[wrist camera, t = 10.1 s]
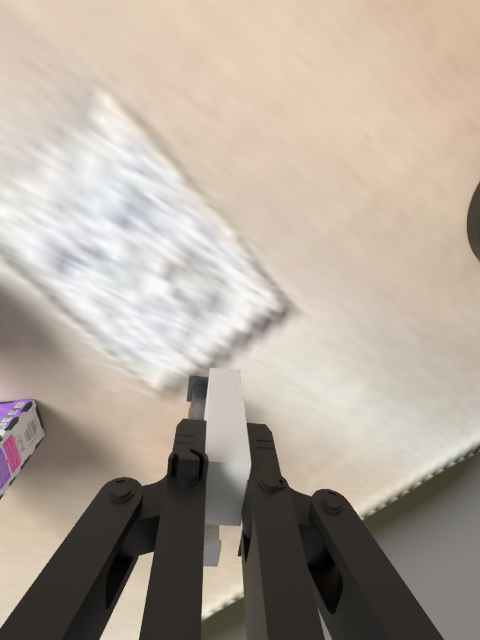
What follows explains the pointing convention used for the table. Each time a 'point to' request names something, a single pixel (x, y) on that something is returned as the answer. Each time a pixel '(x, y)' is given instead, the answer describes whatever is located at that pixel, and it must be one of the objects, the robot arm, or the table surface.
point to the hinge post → (197, 396)
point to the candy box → (17, 438)
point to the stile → (211, 545)
